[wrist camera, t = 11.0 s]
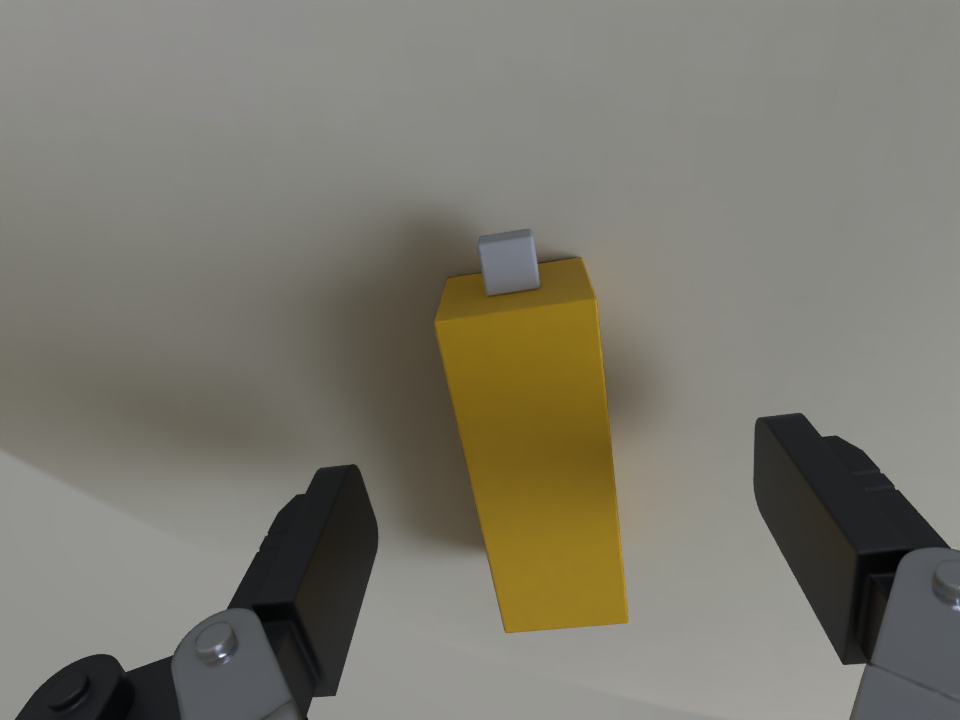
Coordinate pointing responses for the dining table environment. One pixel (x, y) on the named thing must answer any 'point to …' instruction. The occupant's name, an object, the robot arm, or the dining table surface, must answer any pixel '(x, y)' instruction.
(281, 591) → the robot arm
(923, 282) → the dining table surface
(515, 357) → the box cutter
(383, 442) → the dining table surface
